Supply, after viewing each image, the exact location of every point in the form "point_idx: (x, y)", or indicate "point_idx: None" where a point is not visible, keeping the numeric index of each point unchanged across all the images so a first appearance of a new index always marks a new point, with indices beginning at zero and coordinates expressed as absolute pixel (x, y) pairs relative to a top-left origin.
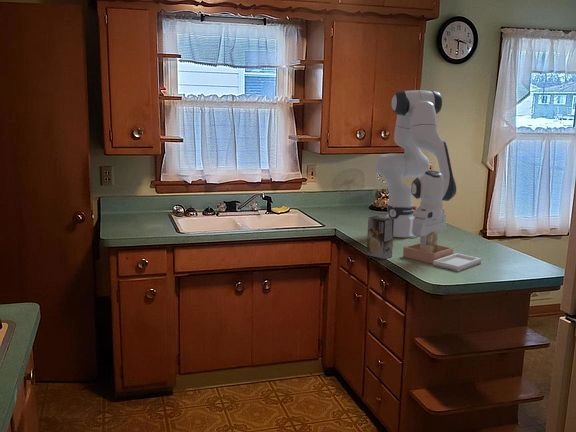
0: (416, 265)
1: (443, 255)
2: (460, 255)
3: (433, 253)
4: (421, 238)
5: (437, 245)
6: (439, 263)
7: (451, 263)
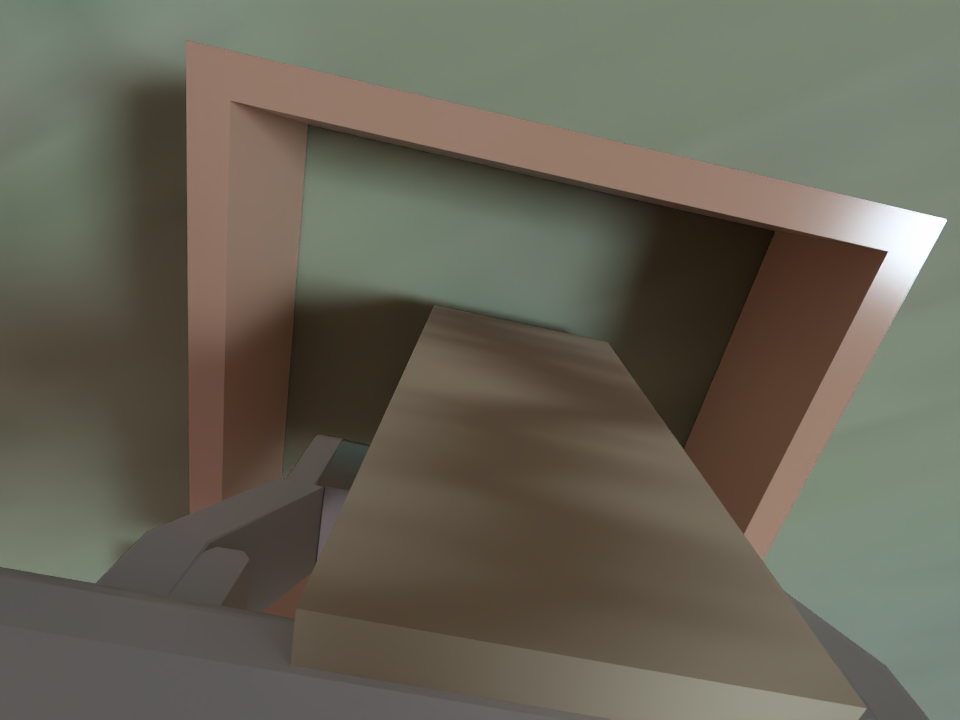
0: (33, 414)
1: None
2: None
3: None
4: (197, 530)
5: (746, 521)
6: None
7: None
